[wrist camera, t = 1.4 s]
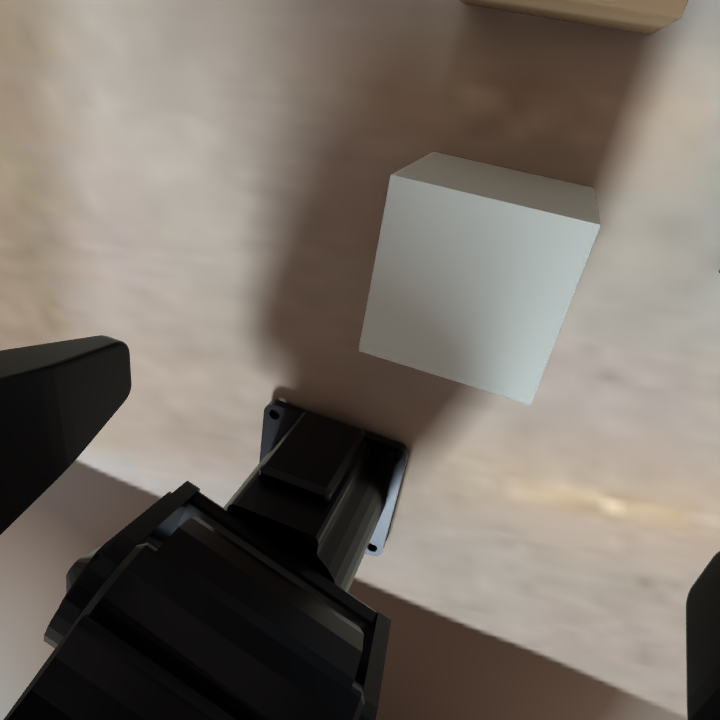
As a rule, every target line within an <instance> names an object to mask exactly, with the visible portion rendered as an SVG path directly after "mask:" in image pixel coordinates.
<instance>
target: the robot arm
mask: <svg viewBox="0 0 720 720" xmlns="http://www.w3.org/2000/svg"><path fill="white" fill-rule="evenodd" d="M130 390H131V370H130V353H129V349H128V346H127V345H126V344H125V343H124V342H122V341H119V340H116V339H113V338H111V337H108V336H102V335H101V336H93V337H87V338H80V339H74V340H67V341H61V342H54V343H47V344H41V345H34V346H28V347H21V348H15V349H8V350H2V351H0V535H1V534H2V533H3V532H4V531H5V530H6V529H7V528H8V527H9V526H10V525H11V524H12V523H13V522H14V521H15V520H16V519H17V518H18V517H19V516H20V515H21V514H22V513H23V512H24V511H25V510H26V509H27V508H28V507H29V506H30V505H31V504H32V503H33V502H34V501H35V500H36V499H37V498H38V497H40V496H41V495H42V493H44V492H45V491H46V490H47V489H48V488H49V487H50V486H51V485H52V484H53V483H54V482H55V481H56V480H57V479H58V478H59V477H60V476H61V475H62V474H63V473H64V472H65V471H66V470H67V469H68V468H69V466H70V465H71V464H72V463H73V462H74V461H75V460H76V459H77V457H78V456H79V455H80V454H81V453H82V452H83V450H84V449H85V448H86V447H87V446H88V444H89V443H90V442H91V441H92V440H93V438H94V437H95V436H96V435H97V434H98V432H99V431H100V430H101V429H102V428H103V426H104V425H105V424H106V423H107V422H108V421H109V419H110V418H111V417H112V416H113V415H114V413H115V412H116V411H117V410H118V409H119V407H120V406H121V405H122V404H123V403H124V401H125V400H126V399H127V397H128V395H129V393H130ZM274 410H276V411H278V413H279V414H280V415H278V414H276V413H275V412H274ZM392 452H396V453H398V454H399V455H400V456H395V455H393V453H392ZM408 456H409V451H408V449H407V447H406V446H405V445H404V444H402V443H400V442H398V441H395V440H392V439H389V438H386V437H383V436H380V435H377V434H375V433H372V432H369V431H366V430H363V429H360V428H358V427H355V426H352V425H349V424H346V423H343V422H340V421H337V420H335V419H332V418H329V417H326V416H323V415H320V414H317V413H314V412H311V411H308V410H305V409H302V408H299V407H296V406H293V405H291V404H288V403H285V402H282V401H278V400H274V401H271V402H270V403H269V404H268V405H267V406H266V408H265V410H264V418H263V430H262V441H261V452H260V463H259V464H258V466H257V467H256V468H255V469H254V471H253V472H252V473H251V474H250V476H249V477H248V478H247V479H246V481H245V482H244V483H243V484H242V486H241V487H240V488H239V489H238V490H237V492H236V493H235V494H234V495H233V497H232V498H231V499H230V500H229V502H228V503H227V504H226V505H225V507H224V508H222V507H221V506H220V505H218V504H217V503H215V502H214V501H212V500H211V499H209V498H208V497H206V496H205V495H203V494H202V493H200V492H199V491H200V489H199V488H198V487H196V486H195V485H193V484H192V483H190V482H189V481H186V482H185V483H184V484H183V485H182V486H180V487H179V488H178V489H177V490H175V491H174V492H173V493H171V492H168V493H167V494H166V495H165V496H163V497H162V498H161V499H160V500H158V501H157V502H156V503H155V504H153V505H152V506H151V507H150V508H149V509H147V510H146V511H145V512H144V513H142V514H141V515H140V516H139V517H137V518H136V519H135V520H134V521H132V522H131V523H130V524H129V525H128V526H126V527H125V528H124V529H123V530H121V531H120V532H119V533H118V534H116V535H115V536H114V537H113V538H112V539H110V540H109V541H108V542H107V543H105V544H104V545H103V546H101V547H99V548H97V549H96V550H94V551H92V552H90V553H89V554H87V555H85V556H83V557H81V558H80V559H79V560H77V561H76V562H75V563H74V565H73V566H72V567H71V568H70V570H69V571H68V573H67V575H66V589H67V590H66V592H67V594H66V596H65V597H64V599H63V601H62V602H61V604H60V606H59V609H58V610H57V612H56V613H55V615H54V617H53V618H52V620H51V622H50V624H49V625H48V628H47V630H46V632H45V635H44V641H45V642H46V643H48V644H49V645H51V646H52V647H54V648H55V650H54V651H53V653H52V654H51V656H50V657H49V658H48V659H47V661H46V662H45V664H44V665H43V666H42V668H41V669H40V671H39V672H38V673H37V675H36V676H35V678H34V679H33V680H32V682H31V683H30V684H29V686H28V687H27V688H26V690H25V691H24V692H23V694H22V695H21V697H20V698H19V699H18V701H17V702H16V704H15V705H14V706H13V708H12V709H11V710H10V712H9V713H8V715H7V716H6V717H5V719H4V720H375V719H376V714H377V709H378V703H379V696H380V690H381V683H382V677H383V669H384V663H385V657H386V650H387V644H388V637H389V630H390V624H391V618H389V617H388V616H387V615H385V614H383V613H382V612H381V611H379V610H377V611H374V610H373V609H371V608H370V607H368V606H367V605H365V604H364V603H363V602H361V601H360V600H358V599H357V598H355V597H354V596H352V595H351V594H349V593H348V590H349V588H350V586H351V583H352V581H353V579H354V576H355V574H356V572H357V570H358V567H359V565H360V563H361V560H362V558H363V556H364V553H367V554H369V555H373V556H378V555H380V554H381V553H382V551H383V548H384V546H385V542H386V538H387V535H388V531H389V527H390V523H391V520H392V516H393V512H394V508H395V505H396V501H397V497H398V493H399V490H400V486H401V482H402V478H403V475H404V471H405V467H406V463H407V460H408ZM372 544H374V545H372ZM375 545H376V546H375ZM686 658H687V716H688V720H720V551H719V552H718V553H716V555H715V556H714V557H713V558H712V559H711V561H710V562H709V564H708V565H707V566H706V568H705V569H704V571H703V572H702V573H701V575H700V576H699V578H698V579H697V580H696V582H695V583H694V584H693V586H692V587H691V589H690V591H689V594H688V597H687V602H686Z"/></svg>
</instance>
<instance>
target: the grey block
mask: <svg viewBox="0 0 720 720" xmlns="http://www.w3.org/2000/svg"><path fill="white" fill-rule="evenodd" d="M600 225H601V224H600V219H599V214H598V209H597V204H596V199H595V194H594V189H593V188H592V187H588V186H583V185H579V184H574V183H570V182H566V181H561V180H557V179H552V178H548V177H543V176H539V175H535V174H530V173H526V172H521V171H517V170H513V169H508V168H504V167H499V166H495V165H490V164H486V163H482V162H477V161H473V160H468V159H464V158H460V157H455V156H451V155H446V154H442V153H438V152H432V153H430V154H428V155H426V156H424V157H422V158H420V159H419V160H417V161H415V162H413V163H411V164H409V165H407V166H406V167H404V168H402V169H400V170H398V171H396V172H394V173H393V174H391V175H390V181H389V186H388V192H387V197H386V203H385V208H384V213H383V219H382V224H381V230H380V235H379V241H378V246H377V252H376V257H375V262H374V268H373V273H372V279H371V284H370V290H369V295H368V301H367V306H366V311H365V317H364V322H363V328H362V333H361V339H360V344H359V350H358V351H360V352H364V353H367V354H370V355H373V356H376V357H379V358H383V359H386V360H389V361H392V362H395V363H399V364H402V365H405V366H408V367H411V368H414V369H418V370H421V371H424V372H427V373H430V374H434V375H437V376H440V377H443V378H446V379H449V380H453V381H456V382H459V383H462V384H465V385H469V386H472V387H475V388H478V389H481V390H484V391H488V392H491V393H494V394H497V395H500V396H503V397H507V398H510V399H513V400H516V401H519V402H523V403H526V404H529V405H531V402H532V400H533V397H534V395H535V392H536V390H537V387H538V384H539V382H540V379H541V377H542V374H543V372H544V369H545V366H546V364H547V361H548V359H549V356H550V354H551V351H552V348H553V346H554V343H555V341H556V338H557V336H558V333H559V330H560V328H561V325H562V323H563V320H564V318H565V315H566V312H567V310H568V307H569V305H570V302H571V300H572V297H573V295H574V292H575V289H576V287H577V284H578V282H579V279H580V277H581V274H582V271H583V269H584V266H585V264H586V261H587V259H588V256H589V253H590V251H591V248H592V246H593V243H594V241H595V238H596V235H597V233H598V230H599V228H600Z"/></svg>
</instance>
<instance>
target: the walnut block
mask: <svg viewBox="0 0 720 720" xmlns="http://www.w3.org/2000/svg"><path fill="white" fill-rule="evenodd" d="M460 1H462V2H463V3H464V4H468V5H474V6H480V7H486V8H492V9H498V10H504V11H510V12H516V13H522V14H528V15H534V16H540V17H546V18H552V19H558V20H564V21H570V22H576V23H582V24H588V25H594V26H600V27H606V28H612V29H618V30H624V31H630V32H636V33H642V34H648V35H650V34H652V33H654V32H656V31H658V30H660V29H661V28H663V27H665V26H667V25H669V24H671V23H672V22H674V21H676V20H678V19H680V18H681V17H682V14H683V12H684V9H685V7H686V4H687V2H688V0H460Z"/></svg>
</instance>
